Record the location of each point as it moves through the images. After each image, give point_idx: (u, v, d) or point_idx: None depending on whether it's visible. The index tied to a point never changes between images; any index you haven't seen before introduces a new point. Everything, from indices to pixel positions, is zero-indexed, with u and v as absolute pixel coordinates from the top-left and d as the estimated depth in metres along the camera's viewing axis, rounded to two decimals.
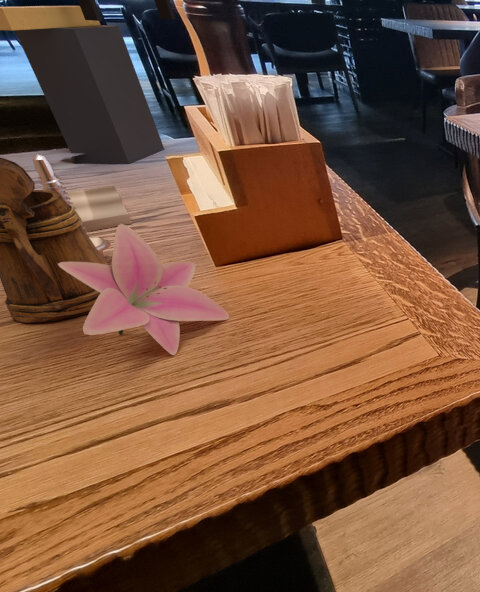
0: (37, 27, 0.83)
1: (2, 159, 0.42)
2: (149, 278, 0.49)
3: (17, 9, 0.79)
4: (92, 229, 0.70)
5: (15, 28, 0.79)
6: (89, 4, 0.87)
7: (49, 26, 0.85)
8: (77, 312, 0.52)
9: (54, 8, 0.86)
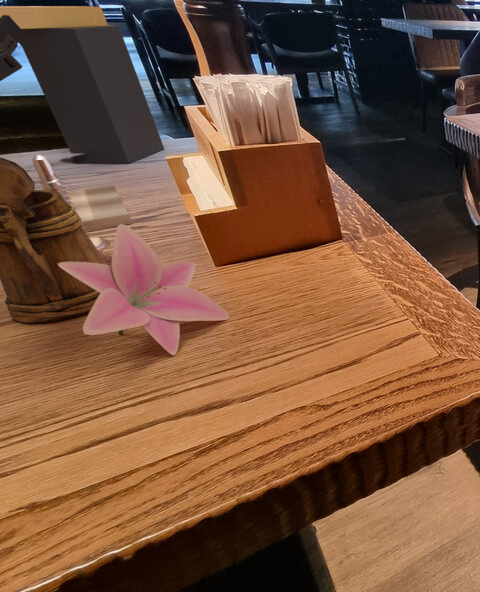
0: (23, 27, 0.82)
1: (2, 159, 0.42)
2: (149, 278, 0.49)
3: None
4: (92, 229, 0.70)
5: None
6: None
7: (39, 26, 0.84)
8: (77, 312, 0.52)
9: (48, 8, 0.85)
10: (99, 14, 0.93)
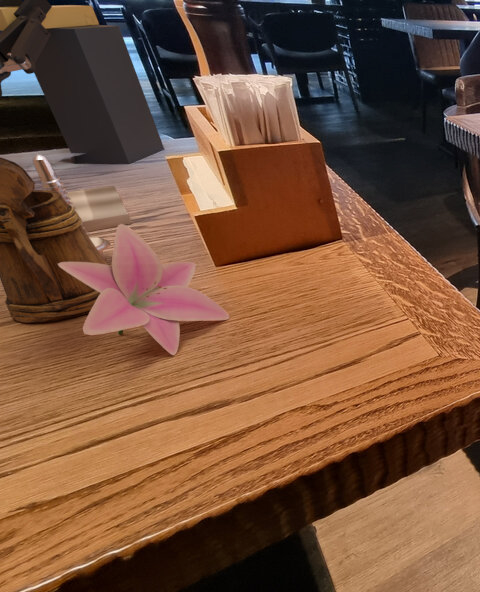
0: None
1: (2, 159, 0.42)
2: (149, 278, 0.49)
3: (16, 9, 0.79)
4: (92, 229, 0.70)
5: None
6: None
7: (48, 26, 0.84)
8: (77, 312, 0.52)
9: (53, 8, 0.85)
10: (92, 13, 0.93)
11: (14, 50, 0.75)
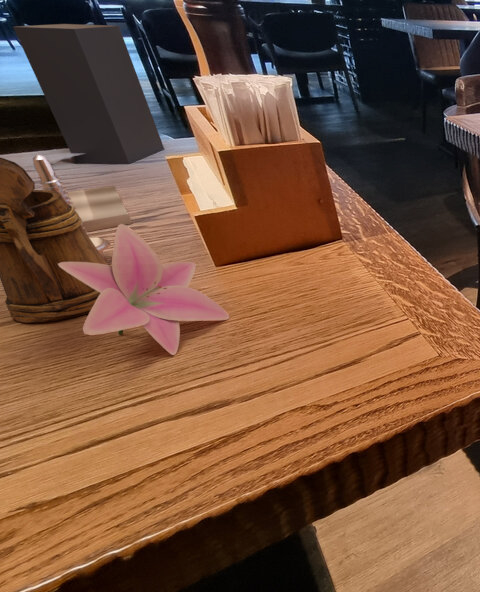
0: None
1: (2, 159, 0.42)
2: (149, 278, 0.49)
3: None
4: (92, 229, 0.70)
5: None
6: None
7: None
8: (77, 312, 0.52)
9: None
10: None
11: None
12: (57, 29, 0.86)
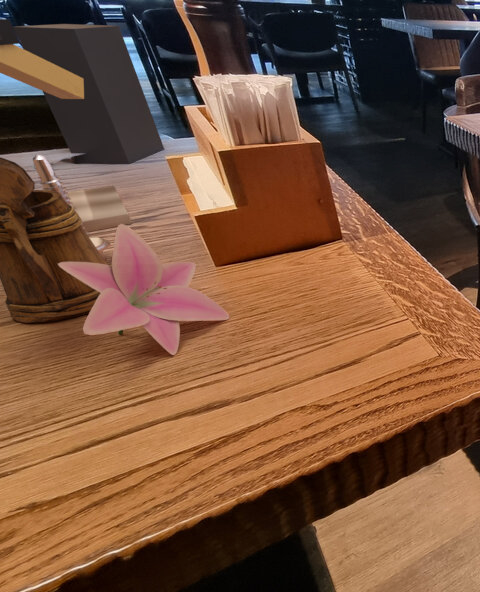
0: None
1: (2, 159, 0.42)
2: (149, 278, 0.49)
3: None
4: (92, 229, 0.70)
5: None
6: None
7: (1, 60, 0.63)
8: (77, 312, 0.52)
9: (21, 49, 0.66)
10: (79, 84, 0.74)
11: None
12: (57, 29, 0.86)
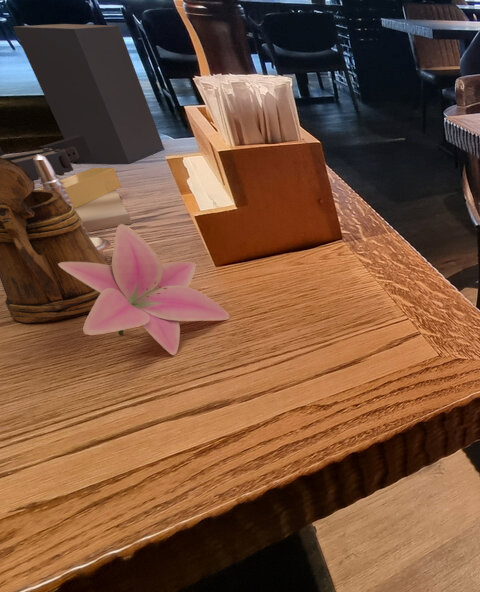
0: None
1: (2, 159, 0.42)
2: (149, 278, 0.49)
3: None
4: (92, 229, 0.70)
5: None
6: None
7: None
8: (77, 312, 0.52)
9: (69, 187, 0.72)
10: (113, 177, 0.80)
11: None
12: (57, 29, 0.86)
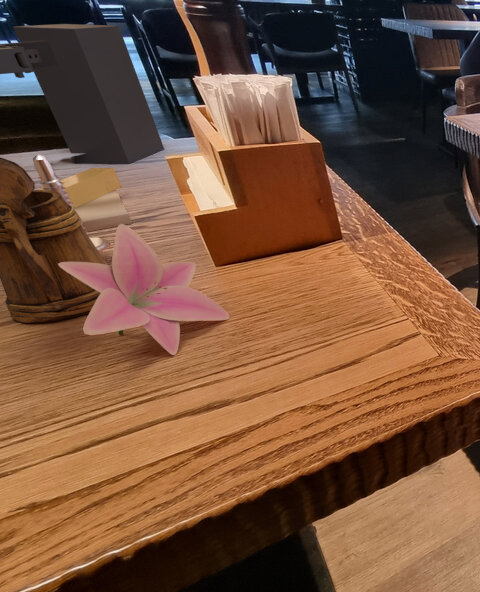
0: None
1: (2, 159, 0.42)
2: (149, 278, 0.49)
3: None
4: (92, 229, 0.70)
5: None
6: None
7: None
8: (77, 312, 0.52)
9: (69, 187, 0.72)
10: (113, 177, 0.80)
11: None
12: (57, 29, 0.86)
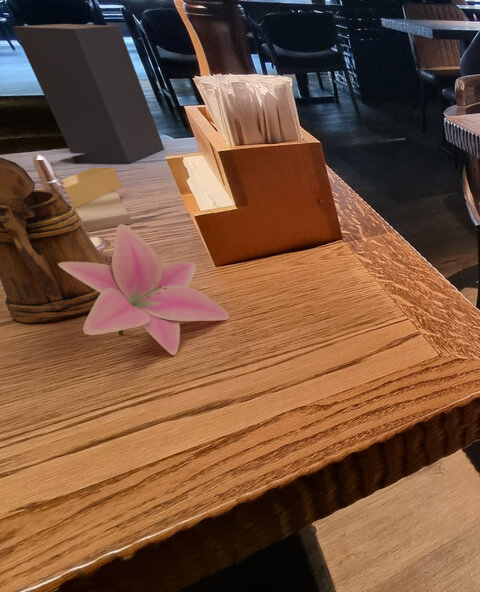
0: None
1: (2, 159, 0.42)
2: (149, 278, 0.49)
3: None
4: (92, 229, 0.70)
5: None
6: None
7: None
8: (77, 312, 0.52)
9: (69, 187, 0.72)
10: (113, 177, 0.80)
11: None
12: (57, 29, 0.86)
